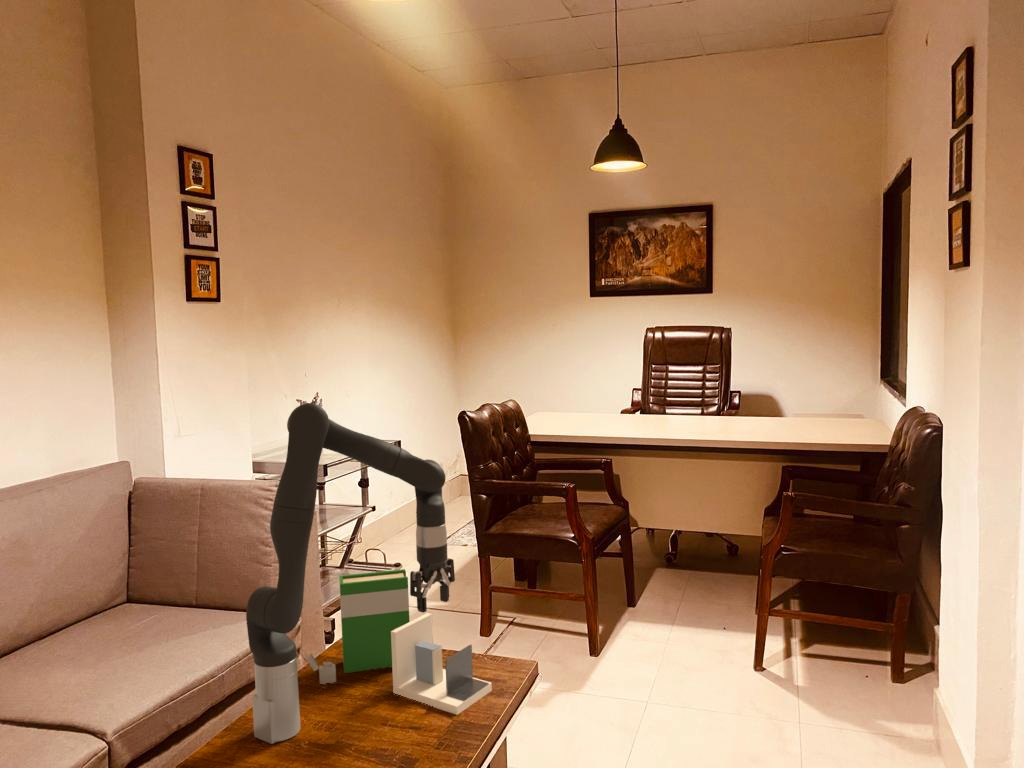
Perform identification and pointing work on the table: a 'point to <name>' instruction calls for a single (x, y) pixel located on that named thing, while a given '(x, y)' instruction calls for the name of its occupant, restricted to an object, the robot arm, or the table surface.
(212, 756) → the table surface
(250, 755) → the table surface
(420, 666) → the small book
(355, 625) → the hardback book
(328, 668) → the lighter
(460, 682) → the bookend
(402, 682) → the shelf
